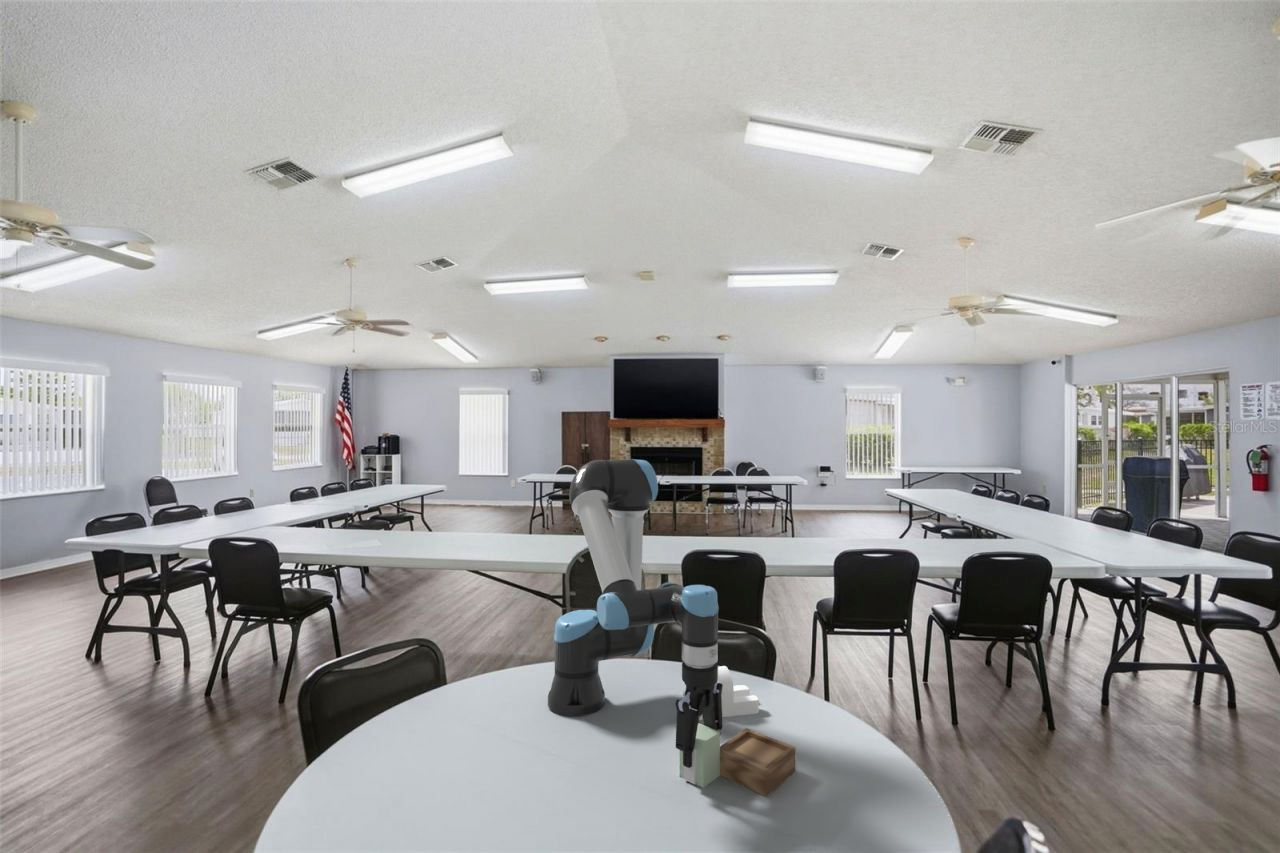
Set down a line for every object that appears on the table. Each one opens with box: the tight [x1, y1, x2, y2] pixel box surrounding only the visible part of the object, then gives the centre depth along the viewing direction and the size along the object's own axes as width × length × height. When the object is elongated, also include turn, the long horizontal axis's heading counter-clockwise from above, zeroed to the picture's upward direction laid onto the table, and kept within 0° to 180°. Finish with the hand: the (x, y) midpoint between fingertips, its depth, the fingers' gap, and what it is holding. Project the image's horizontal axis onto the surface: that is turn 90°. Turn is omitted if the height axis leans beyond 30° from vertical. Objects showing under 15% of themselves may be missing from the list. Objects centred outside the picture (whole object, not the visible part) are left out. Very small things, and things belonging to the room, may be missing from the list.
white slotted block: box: [682, 665, 760, 721], centre depth 151 cm, size 10×18×11 cm, turn 103°
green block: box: [679, 722, 721, 789], centre depth 121 cm, size 6×6×9 cm
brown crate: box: [720, 728, 796, 798], centre depth 122 cm, size 12×12×5 cm
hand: (699, 773), depth 121 cm, fingers closed on green block, 6 cm apart
